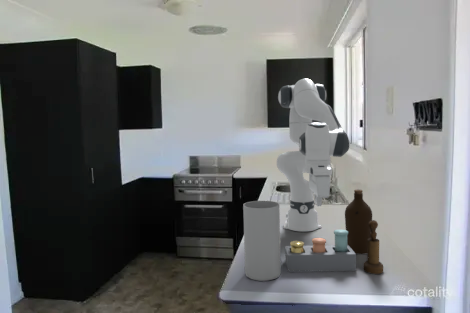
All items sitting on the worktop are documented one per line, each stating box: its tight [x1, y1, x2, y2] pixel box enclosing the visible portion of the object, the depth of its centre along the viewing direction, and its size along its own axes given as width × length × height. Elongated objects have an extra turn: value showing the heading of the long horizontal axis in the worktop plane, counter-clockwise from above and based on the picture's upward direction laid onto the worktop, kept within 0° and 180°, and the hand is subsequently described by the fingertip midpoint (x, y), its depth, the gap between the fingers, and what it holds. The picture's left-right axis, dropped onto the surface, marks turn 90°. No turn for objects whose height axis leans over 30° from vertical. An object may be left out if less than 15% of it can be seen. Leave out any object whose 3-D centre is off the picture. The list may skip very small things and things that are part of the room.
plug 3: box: [333, 229, 348, 252], centre depth 135 cm, size 5×5×8 cm
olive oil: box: [344, 189, 373, 255], centre depth 150 cm, size 11×11×25 cm
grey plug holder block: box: [284, 244, 357, 272], centre depth 136 cm, size 10×24×6 cm, turn 88°
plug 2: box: [311, 237, 327, 253], centre depth 135 cm, size 5×5×8 cm
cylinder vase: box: [242, 200, 282, 282], centre depth 129 cm, size 12×12×25 cm
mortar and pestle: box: [362, 219, 384, 275], centre depth 129 cm, size 7×6×18 cm
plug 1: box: [289, 240, 305, 253], centre depth 136 cm, size 5×5×8 cm
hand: (318, 205), depth 134 cm, fingers closed
